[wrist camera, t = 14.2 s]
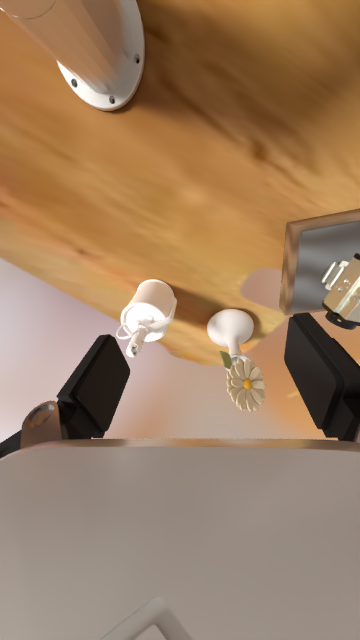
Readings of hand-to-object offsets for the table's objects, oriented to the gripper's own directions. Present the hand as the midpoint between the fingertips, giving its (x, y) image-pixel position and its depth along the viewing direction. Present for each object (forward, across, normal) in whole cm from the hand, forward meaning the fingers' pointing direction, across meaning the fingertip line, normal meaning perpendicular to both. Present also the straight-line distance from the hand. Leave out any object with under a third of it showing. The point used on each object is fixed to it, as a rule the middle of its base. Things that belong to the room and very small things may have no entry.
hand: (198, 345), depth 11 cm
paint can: (+34, +12, +12) cm, 38 cm away
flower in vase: (+34, -4, +22) cm, 40 cm away
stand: (+33, -22, +10) cm, 41 cm away
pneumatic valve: (+29, -23, +10) cm, 38 cm away
